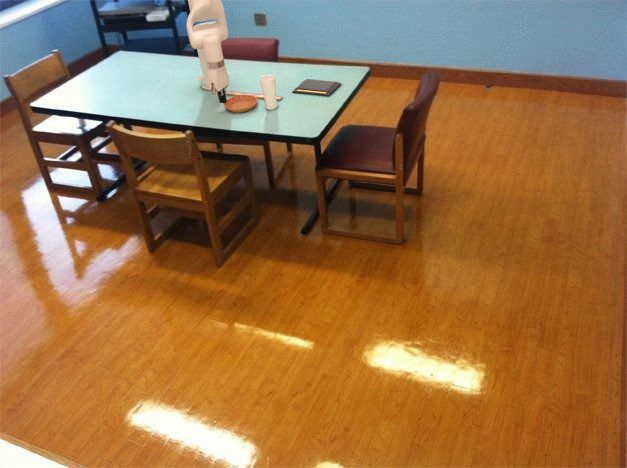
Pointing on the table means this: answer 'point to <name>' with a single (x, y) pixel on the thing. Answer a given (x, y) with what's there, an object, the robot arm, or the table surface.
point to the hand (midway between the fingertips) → (223, 102)
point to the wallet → (317, 87)
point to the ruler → (250, 94)
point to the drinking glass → (269, 91)
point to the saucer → (241, 103)
